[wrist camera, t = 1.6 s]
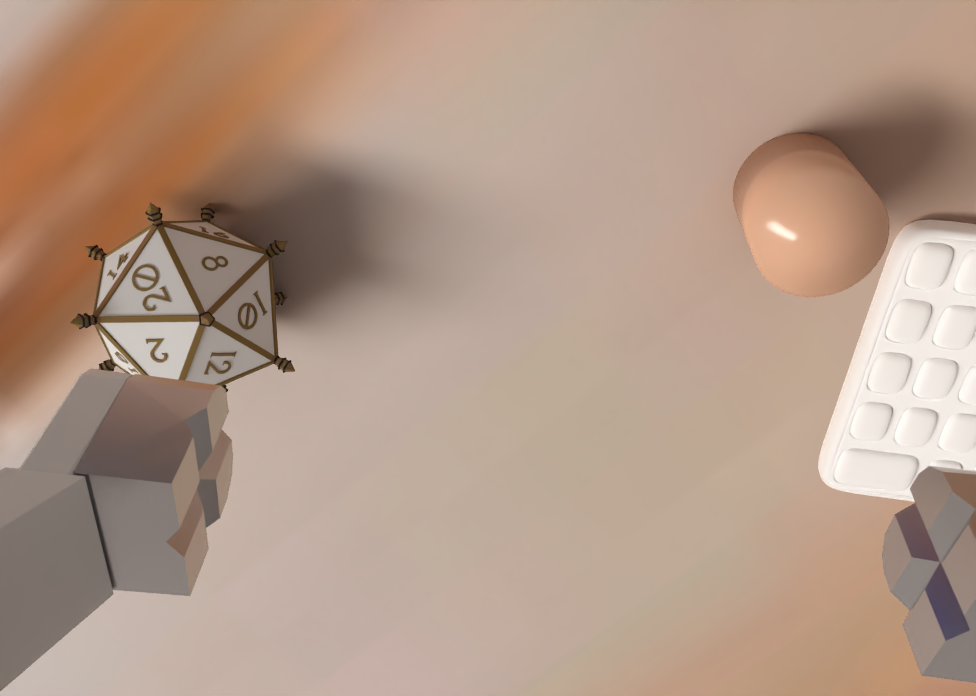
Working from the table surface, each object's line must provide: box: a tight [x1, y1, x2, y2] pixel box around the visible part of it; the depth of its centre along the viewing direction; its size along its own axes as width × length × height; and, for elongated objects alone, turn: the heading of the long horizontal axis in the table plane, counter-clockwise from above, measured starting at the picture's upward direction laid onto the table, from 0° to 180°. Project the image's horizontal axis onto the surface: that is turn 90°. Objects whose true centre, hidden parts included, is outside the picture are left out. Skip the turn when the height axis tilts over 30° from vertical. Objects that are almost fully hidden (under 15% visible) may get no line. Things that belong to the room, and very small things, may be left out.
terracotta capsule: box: [733, 133, 889, 297], centre depth 34 cm, size 5×5×5 cm
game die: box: [70, 203, 295, 392], centre depth 37 cm, size 9×8×10 cm
